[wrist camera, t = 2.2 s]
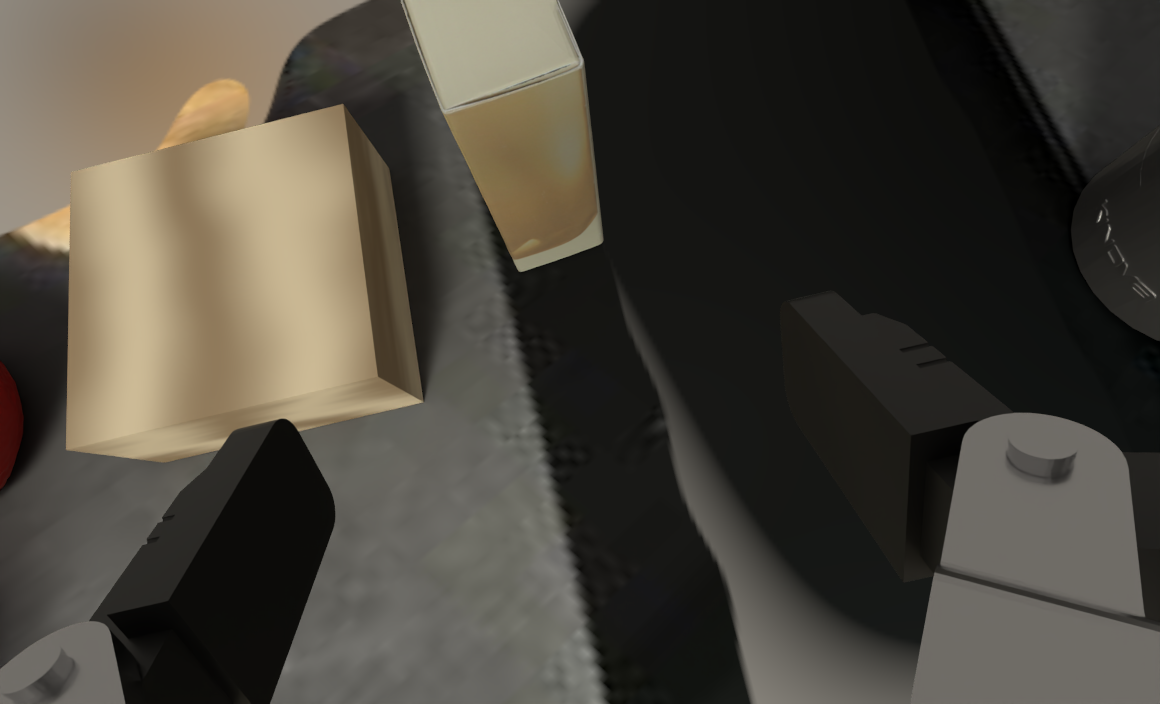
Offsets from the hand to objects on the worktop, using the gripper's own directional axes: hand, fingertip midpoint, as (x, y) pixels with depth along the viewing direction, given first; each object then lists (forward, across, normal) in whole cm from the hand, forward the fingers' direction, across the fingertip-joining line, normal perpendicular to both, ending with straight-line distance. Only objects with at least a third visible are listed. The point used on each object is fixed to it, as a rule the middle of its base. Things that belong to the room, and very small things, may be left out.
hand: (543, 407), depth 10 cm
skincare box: (+21, 0, +3) cm, 21 cm away
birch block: (+19, +13, +4) cm, 24 cm away
